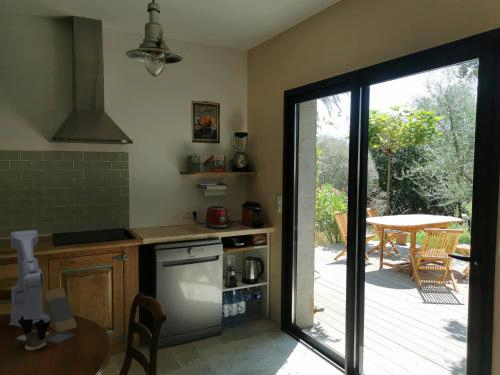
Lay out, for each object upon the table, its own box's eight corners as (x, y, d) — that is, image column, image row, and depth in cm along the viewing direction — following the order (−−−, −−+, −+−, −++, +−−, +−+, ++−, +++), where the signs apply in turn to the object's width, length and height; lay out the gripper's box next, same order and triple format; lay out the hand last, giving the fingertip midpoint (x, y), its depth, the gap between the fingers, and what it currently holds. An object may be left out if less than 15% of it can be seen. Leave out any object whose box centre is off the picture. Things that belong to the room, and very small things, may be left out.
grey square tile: (42, 341, 156) (42, 339, 156) (60, 333, 164) (60, 330, 164) (58, 345, 153) (58, 342, 153) (75, 336, 161) (74, 334, 160)
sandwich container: (57, 334, 163) (56, 299, 162) (44, 324, 174) (43, 291, 173) (78, 328, 169) (77, 294, 168) (64, 318, 180) (63, 287, 179)
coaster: (20, 348, 150) (20, 346, 150) (37, 341, 156) (36, 338, 156) (33, 352, 147) (33, 349, 147) (49, 344, 153) (49, 341, 153)
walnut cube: (26, 345, 150) (25, 334, 150) (36, 340, 154) (35, 329, 154) (34, 347, 149) (33, 335, 148) (44, 342, 153) (44, 331, 152)
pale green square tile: (16, 340, 157) (16, 337, 157) (35, 331, 165) (35, 329, 165) (31, 343, 154) (31, 341, 154) (49, 335, 162) (49, 332, 162)
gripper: (11, 304, 150) (12, 338, 150) (38, 309, 144) (39, 344, 145) (27, 298, 156) (29, 331, 157) (54, 303, 151) (55, 337, 151)
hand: (35, 337), depth 151 cm, fingers open, 7 cm apart
